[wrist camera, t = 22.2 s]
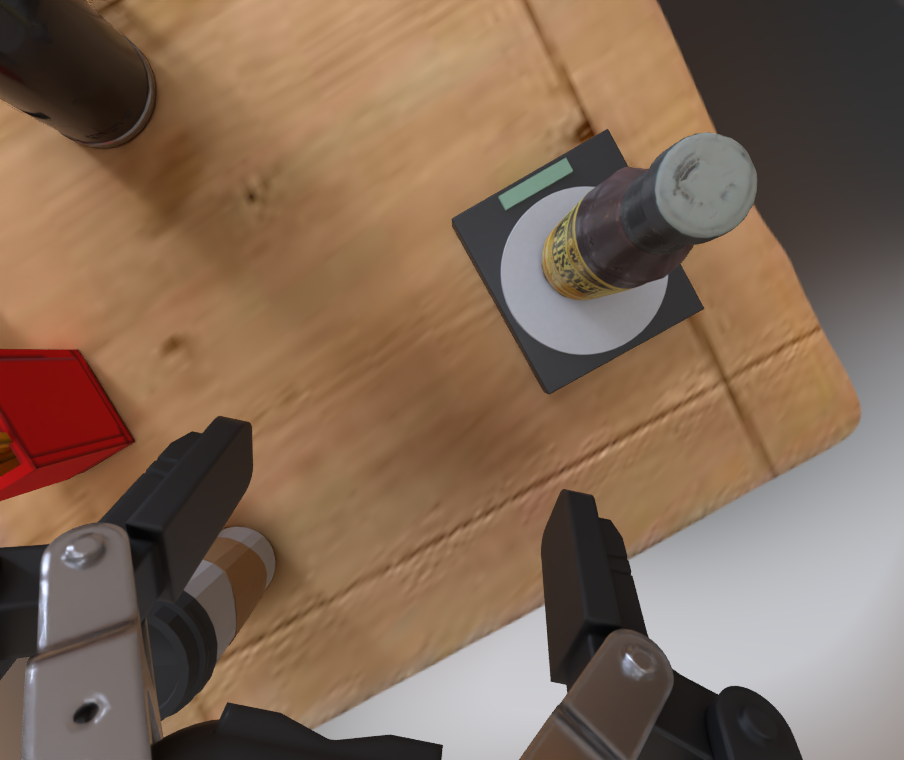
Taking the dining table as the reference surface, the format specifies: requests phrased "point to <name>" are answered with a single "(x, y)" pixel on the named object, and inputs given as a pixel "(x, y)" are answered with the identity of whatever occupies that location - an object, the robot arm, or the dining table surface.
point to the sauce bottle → (650, 218)
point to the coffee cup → (207, 615)
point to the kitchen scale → (534, 300)
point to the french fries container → (52, 419)
